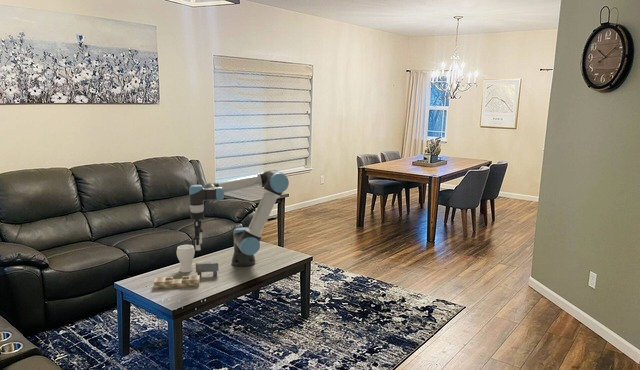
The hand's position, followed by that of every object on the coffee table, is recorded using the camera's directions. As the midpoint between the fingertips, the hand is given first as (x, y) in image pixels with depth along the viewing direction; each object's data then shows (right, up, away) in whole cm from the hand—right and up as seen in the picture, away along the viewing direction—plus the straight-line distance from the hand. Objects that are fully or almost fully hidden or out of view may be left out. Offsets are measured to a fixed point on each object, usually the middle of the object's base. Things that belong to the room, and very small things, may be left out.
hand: (198, 246), depth 272 cm
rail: (-9, -20, -12) cm, 25 cm away
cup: (-11, -16, +12) cm, 23 cm away
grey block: (+4, -18, +3) cm, 19 cm away
